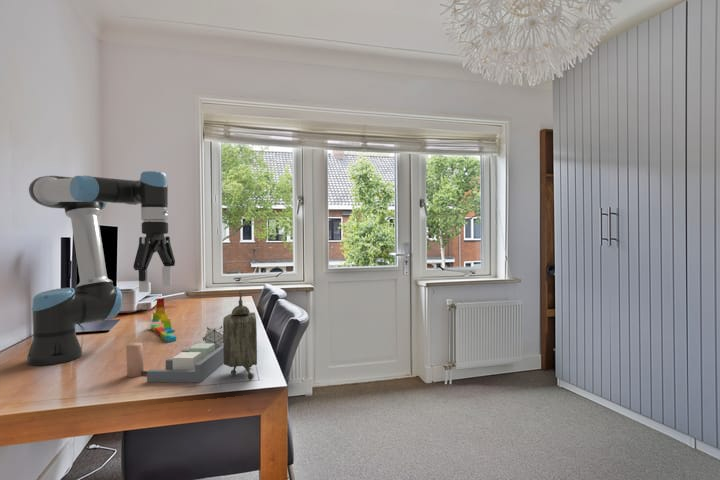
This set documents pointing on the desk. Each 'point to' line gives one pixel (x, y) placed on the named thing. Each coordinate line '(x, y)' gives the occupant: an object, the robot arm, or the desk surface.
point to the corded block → (179, 362)
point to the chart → (161, 315)
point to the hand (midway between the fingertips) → (156, 289)
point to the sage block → (203, 348)
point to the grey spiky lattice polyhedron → (214, 336)
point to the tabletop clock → (240, 338)
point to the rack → (197, 375)
